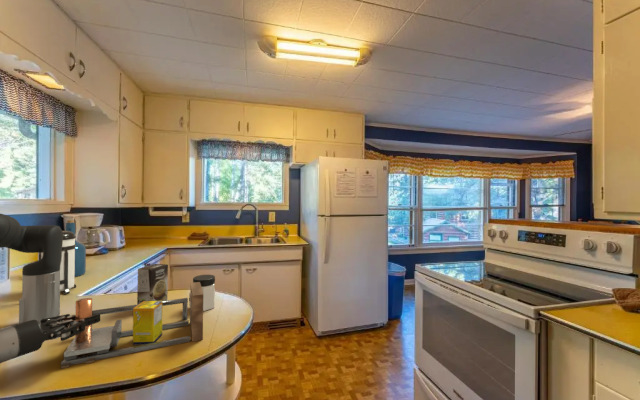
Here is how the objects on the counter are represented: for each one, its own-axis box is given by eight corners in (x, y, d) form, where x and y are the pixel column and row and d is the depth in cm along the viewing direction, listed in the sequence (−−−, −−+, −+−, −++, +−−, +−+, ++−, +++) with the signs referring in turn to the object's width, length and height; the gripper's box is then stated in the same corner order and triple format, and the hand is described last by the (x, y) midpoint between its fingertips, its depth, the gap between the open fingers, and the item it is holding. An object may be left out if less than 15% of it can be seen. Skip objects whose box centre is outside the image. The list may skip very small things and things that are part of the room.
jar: (214, 310, 109) (215, 279, 109) (191, 313, 107) (192, 281, 106) (214, 302, 118) (215, 273, 118) (193, 304, 115) (193, 275, 115)
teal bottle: (89, 274, 155) (90, 220, 155) (58, 280, 144) (58, 221, 143) (80, 270, 162) (80, 218, 162) (49, 276, 151) (49, 220, 151)
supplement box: (142, 335, 89) (143, 300, 89) (162, 334, 90) (163, 300, 90) (132, 345, 83) (132, 308, 83) (153, 344, 84) (153, 307, 84)
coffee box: (150, 312, 107) (151, 269, 107) (136, 310, 108) (136, 268, 108) (168, 303, 116) (168, 264, 116) (154, 301, 117) (155, 263, 117)
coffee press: (22, 296, 121) (22, 226, 121) (66, 285, 136) (67, 223, 136) (44, 302, 115) (45, 228, 114) (89, 290, 130) (89, 225, 129)
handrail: (81, 337, 87) (81, 312, 87) (83, 335, 89) (83, 311, 88) (187, 319, 101) (187, 298, 101) (187, 318, 102) (187, 297, 102)
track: (59, 369, 71) (59, 364, 71) (78, 341, 85) (78, 337, 85) (190, 342, 85) (190, 338, 85) (188, 322, 98) (188, 319, 98)
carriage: (63, 360, 72) (64, 310, 72) (79, 337, 84) (79, 294, 84) (114, 350, 77) (115, 303, 77) (122, 330, 89) (123, 289, 89)
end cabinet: (189, 342, 85) (190, 296, 85) (187, 323, 98) (188, 283, 98) (202, 339, 87) (203, 294, 87) (199, 321, 99) (199, 281, 99)
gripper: (22, 333, 63) (109, 307, 78) (0, 320, 70) (84, 298, 85) (22, 367, 63) (108, 334, 79) (0, 350, 70) (83, 323, 85)
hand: (95, 316), depth 82 cm, fingers closed on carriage, 3 cm apart
